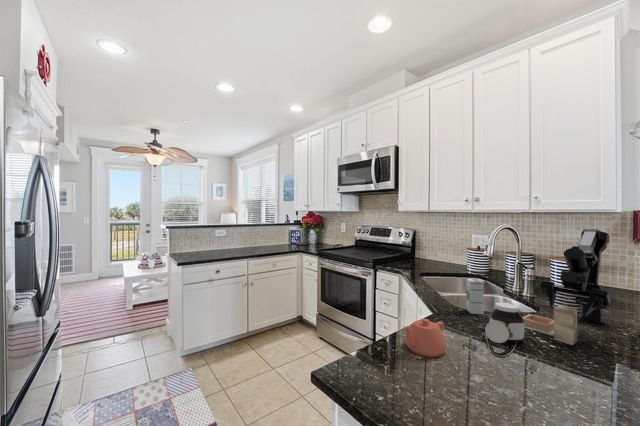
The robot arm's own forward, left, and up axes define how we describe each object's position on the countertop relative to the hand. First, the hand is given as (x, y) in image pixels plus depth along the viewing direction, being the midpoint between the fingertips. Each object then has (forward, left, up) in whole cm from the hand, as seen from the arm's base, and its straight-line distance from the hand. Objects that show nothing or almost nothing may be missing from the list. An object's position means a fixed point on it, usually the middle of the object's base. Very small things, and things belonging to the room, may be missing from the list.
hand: (567, 311), depth 99 cm
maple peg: (+1, -1, -10) cm, 10 cm away
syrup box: (-24, -22, -10) cm, 34 cm away
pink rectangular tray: (-11, -3, -10) cm, 15 cm away
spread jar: (+5, -22, -10) cm, 25 cm away
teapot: (+19, -52, -10) cm, 56 cm away
